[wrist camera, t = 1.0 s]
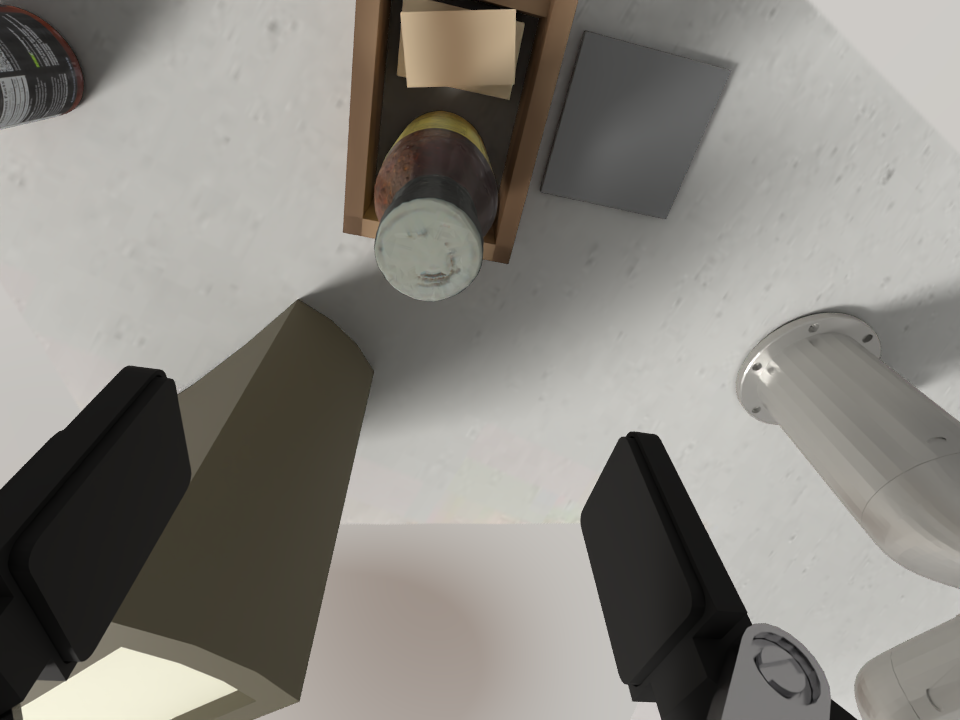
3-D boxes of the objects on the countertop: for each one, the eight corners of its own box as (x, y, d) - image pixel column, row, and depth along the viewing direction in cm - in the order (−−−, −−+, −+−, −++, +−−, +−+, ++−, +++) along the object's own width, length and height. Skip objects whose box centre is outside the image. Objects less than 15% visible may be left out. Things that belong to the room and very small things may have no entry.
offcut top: (510, 10, 27) (515, 9, 25) (509, 79, 29) (514, 84, 27) (405, 13, 27) (400, 12, 25) (411, 82, 29) (407, 87, 27)
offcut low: (519, 23, 30) (524, 22, 28) (505, 94, 32) (509, 100, 30) (408, -3, 29) (403, -7, 27) (401, 71, 31) (396, 75, 29)
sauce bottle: (464, 213, 36) (467, 361, 20) (386, 178, 35) (319, 309, 18) (502, 127, 33) (542, 221, 17) (417, 84, 32) (371, 142, 15)
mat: (727, 69, 32) (731, 70, 31) (663, 216, 37) (666, 219, 37) (584, 30, 30) (586, 30, 30) (539, 189, 36) (541, 192, 35)
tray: (563, -1, 29) (579, -5, 25) (503, 238, 38) (508, 264, 34) (375, -53, 28) (359, -68, 23) (356, 209, 36) (343, 232, 32)
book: (306, 291, 40) (112, 629, 17) (381, 363, 45) (308, 711, 22) (148, 412, 46) (-153, 784, 23) (228, 465, 51) (43, 822, 28)
